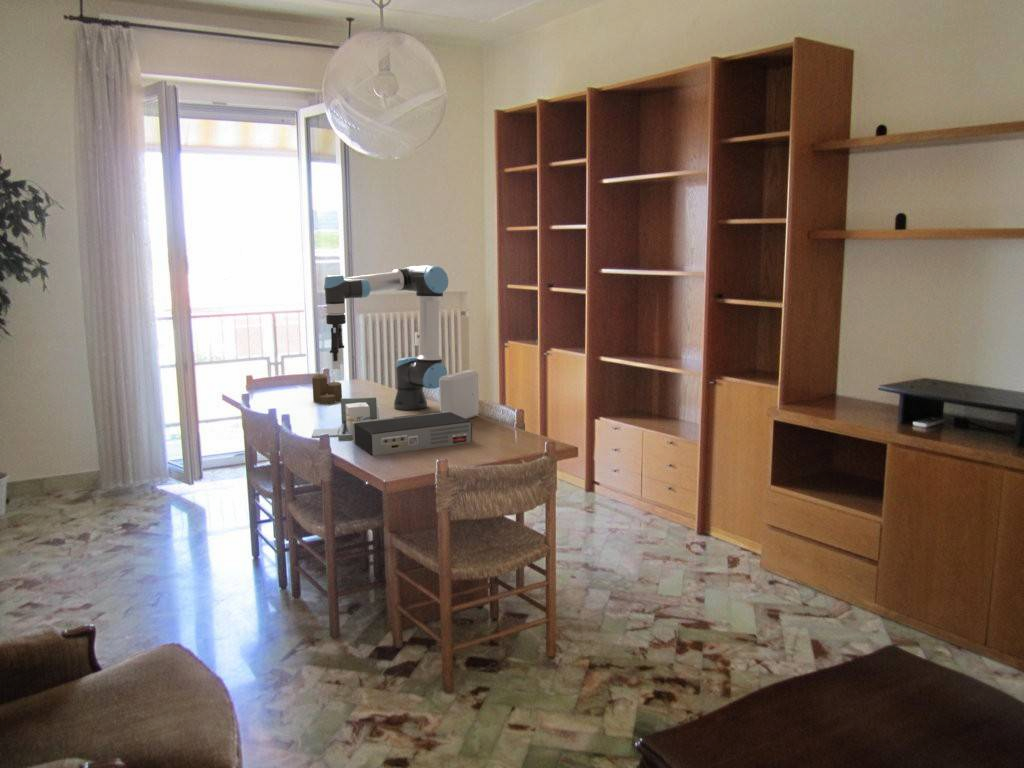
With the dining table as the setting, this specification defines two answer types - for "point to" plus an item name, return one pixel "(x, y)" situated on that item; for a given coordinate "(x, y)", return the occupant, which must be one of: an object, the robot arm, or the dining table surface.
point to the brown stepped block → (325, 390)
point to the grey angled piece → (370, 401)
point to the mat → (331, 432)
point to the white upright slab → (460, 393)
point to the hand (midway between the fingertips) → (337, 366)
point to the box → (411, 432)
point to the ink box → (356, 414)
